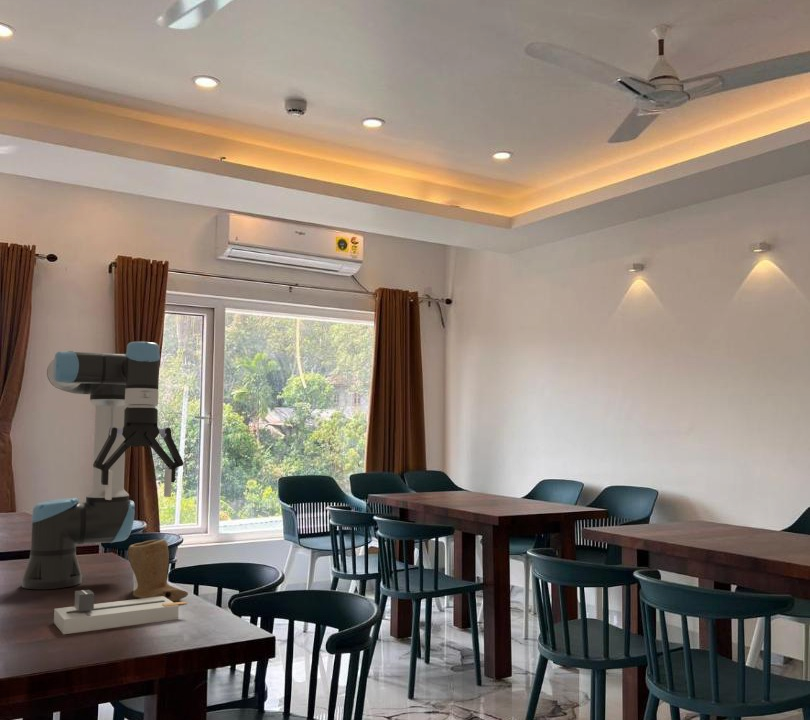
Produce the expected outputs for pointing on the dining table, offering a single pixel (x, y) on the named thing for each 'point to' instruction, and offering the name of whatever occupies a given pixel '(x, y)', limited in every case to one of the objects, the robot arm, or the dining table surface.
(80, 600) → the fader knob
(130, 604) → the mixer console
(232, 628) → the dining table surface
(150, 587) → the tan boot
